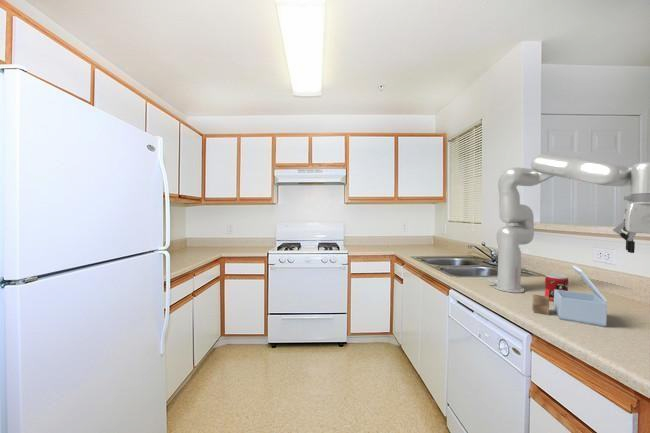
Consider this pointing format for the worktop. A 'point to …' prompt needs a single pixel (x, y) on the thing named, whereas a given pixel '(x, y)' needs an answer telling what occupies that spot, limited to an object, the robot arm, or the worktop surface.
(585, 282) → the flap
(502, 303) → the worktop surface
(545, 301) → the block
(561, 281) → the canned food
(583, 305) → the carton
